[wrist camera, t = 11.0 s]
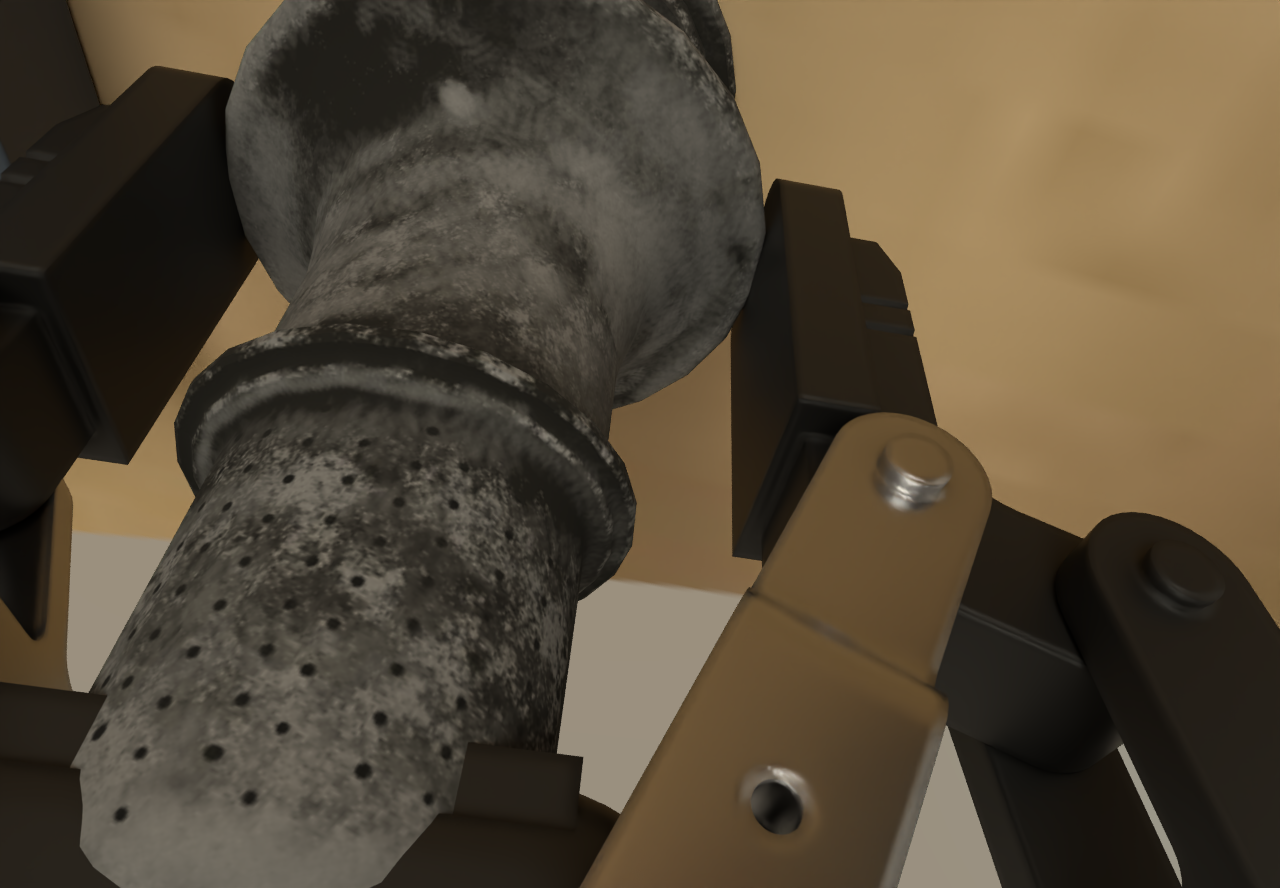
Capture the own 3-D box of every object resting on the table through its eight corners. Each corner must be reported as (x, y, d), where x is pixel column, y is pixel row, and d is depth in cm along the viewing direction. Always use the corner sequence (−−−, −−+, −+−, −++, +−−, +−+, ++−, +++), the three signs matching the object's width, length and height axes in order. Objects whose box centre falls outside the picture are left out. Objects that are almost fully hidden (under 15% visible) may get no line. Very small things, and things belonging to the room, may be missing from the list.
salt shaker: (637, 318, 15) (525, 1302, 7) (293, 164, 13) (-436, 1242, 5) (848, 0, 11) (1236, 1504, 3) (394, -283, 9) (-2825, 1575, 1)
